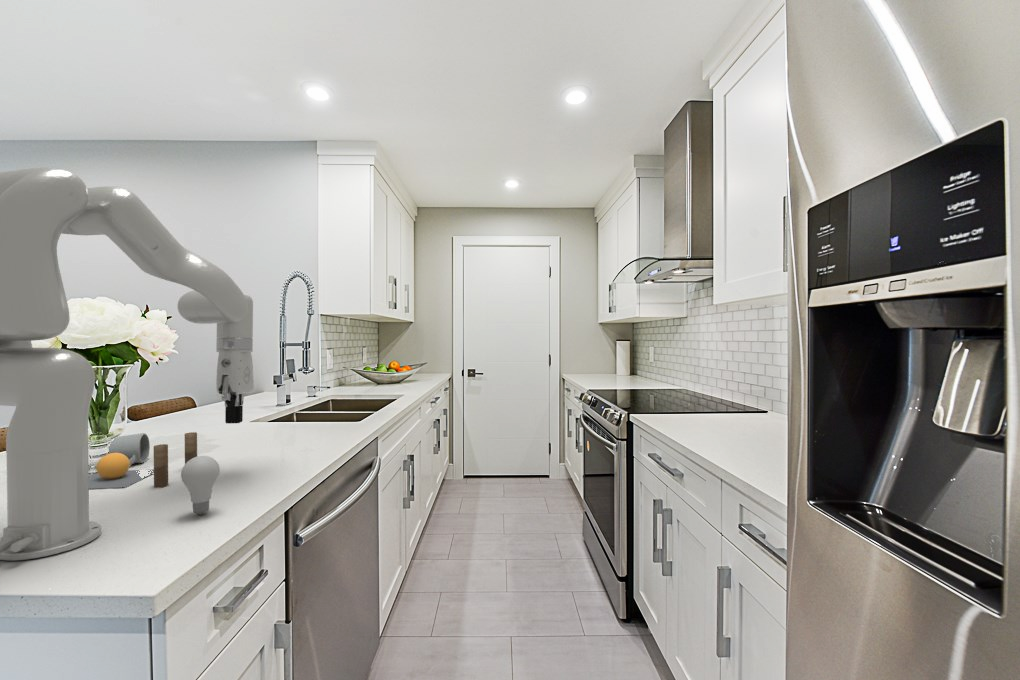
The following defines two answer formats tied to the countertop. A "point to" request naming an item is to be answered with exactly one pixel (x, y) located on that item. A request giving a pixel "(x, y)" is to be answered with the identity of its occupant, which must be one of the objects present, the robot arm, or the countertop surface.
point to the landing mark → (115, 480)
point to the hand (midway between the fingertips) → (233, 422)
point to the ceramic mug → (132, 447)
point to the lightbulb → (200, 481)
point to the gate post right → (190, 446)
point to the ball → (113, 465)
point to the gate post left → (160, 465)
